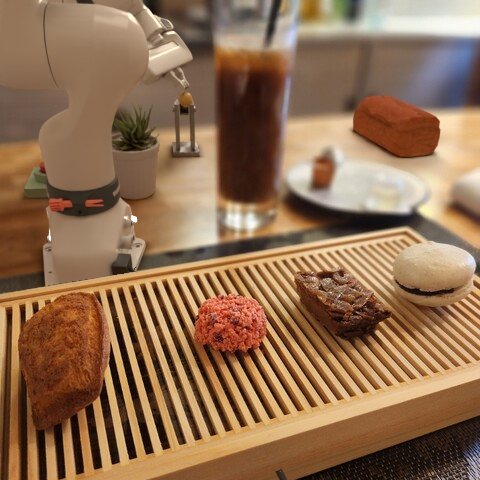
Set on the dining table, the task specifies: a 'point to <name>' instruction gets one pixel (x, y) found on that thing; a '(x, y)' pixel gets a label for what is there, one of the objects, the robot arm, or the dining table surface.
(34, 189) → the green button base
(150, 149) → the potted plant
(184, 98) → the lever
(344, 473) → the dining table surface
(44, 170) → the lock button
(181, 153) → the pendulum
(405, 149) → the bread
